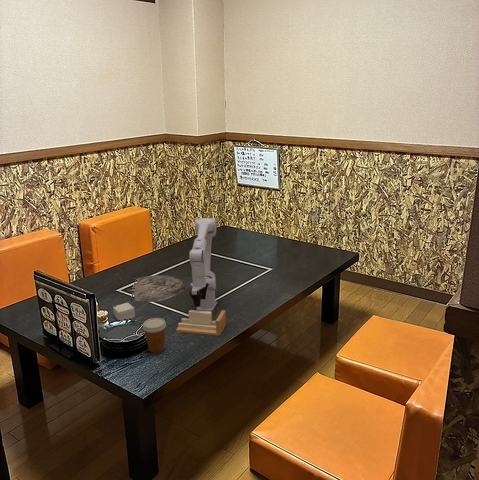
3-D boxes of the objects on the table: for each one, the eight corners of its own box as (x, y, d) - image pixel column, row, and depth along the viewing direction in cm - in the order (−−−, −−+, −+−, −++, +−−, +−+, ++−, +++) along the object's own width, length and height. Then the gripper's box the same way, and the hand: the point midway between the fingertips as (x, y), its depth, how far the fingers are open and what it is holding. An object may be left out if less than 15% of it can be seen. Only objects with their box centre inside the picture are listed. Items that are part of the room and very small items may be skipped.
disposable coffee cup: (151, 341, 200) (148, 316, 196) (171, 344, 197) (169, 318, 193) (140, 353, 191) (137, 326, 187) (162, 356, 188) (159, 329, 185)
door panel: (191, 323, 211) (190, 309, 209) (212, 325, 209) (211, 311, 207) (189, 325, 209) (188, 311, 207) (211, 328, 207) (210, 313, 205)
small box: (135, 317, 221) (134, 307, 219) (119, 322, 217) (118, 312, 215) (129, 311, 227) (128, 302, 226) (113, 316, 223) (112, 306, 221)
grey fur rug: (151, 271, 276) (151, 270, 275) (197, 284, 256) (197, 283, 256) (106, 291, 250) (106, 290, 250) (153, 307, 231) (152, 306, 230)
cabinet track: (184, 320, 216) (183, 306, 214) (226, 324, 212) (225, 310, 209) (176, 331, 207) (175, 317, 205) (219, 335, 202) (219, 321, 200)
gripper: (195, 268, 216) (197, 295, 220) (184, 280, 202) (186, 309, 207) (209, 269, 214) (211, 296, 218) (200, 281, 201) (201, 310, 205)
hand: (200, 302), depth 212 cm, fingers open, 7 cm apart
